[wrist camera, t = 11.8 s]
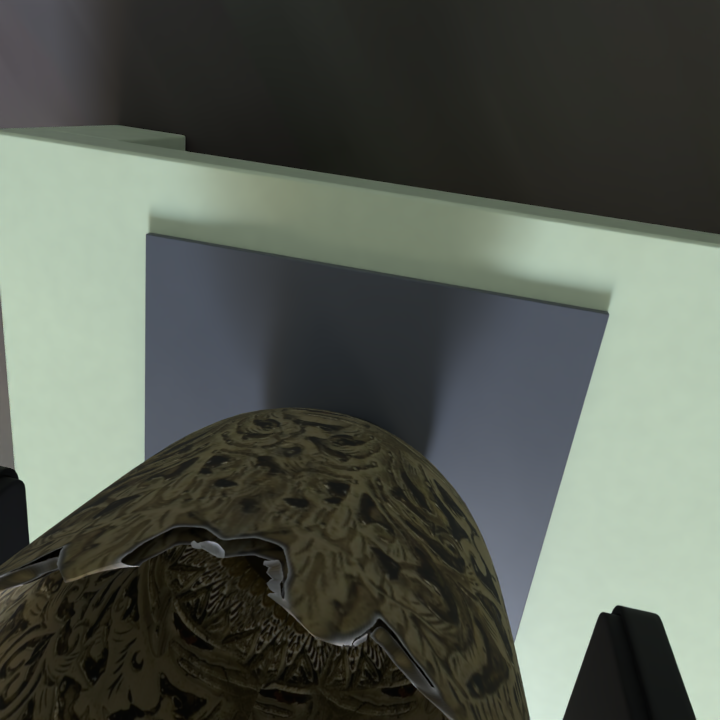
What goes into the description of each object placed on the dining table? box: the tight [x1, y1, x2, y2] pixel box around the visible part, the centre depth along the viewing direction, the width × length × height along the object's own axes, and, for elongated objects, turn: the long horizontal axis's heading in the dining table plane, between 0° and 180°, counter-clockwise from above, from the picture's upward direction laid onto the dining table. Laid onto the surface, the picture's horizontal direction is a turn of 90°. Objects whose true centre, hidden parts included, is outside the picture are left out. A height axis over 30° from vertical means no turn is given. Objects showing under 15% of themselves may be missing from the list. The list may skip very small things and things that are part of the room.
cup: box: [0, 407, 530, 720], centre depth 10 cm, size 8×7×8 cm
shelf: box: [0, 125, 720, 720], centre depth 16 cm, size 26×12×5 cm, turn 82°
